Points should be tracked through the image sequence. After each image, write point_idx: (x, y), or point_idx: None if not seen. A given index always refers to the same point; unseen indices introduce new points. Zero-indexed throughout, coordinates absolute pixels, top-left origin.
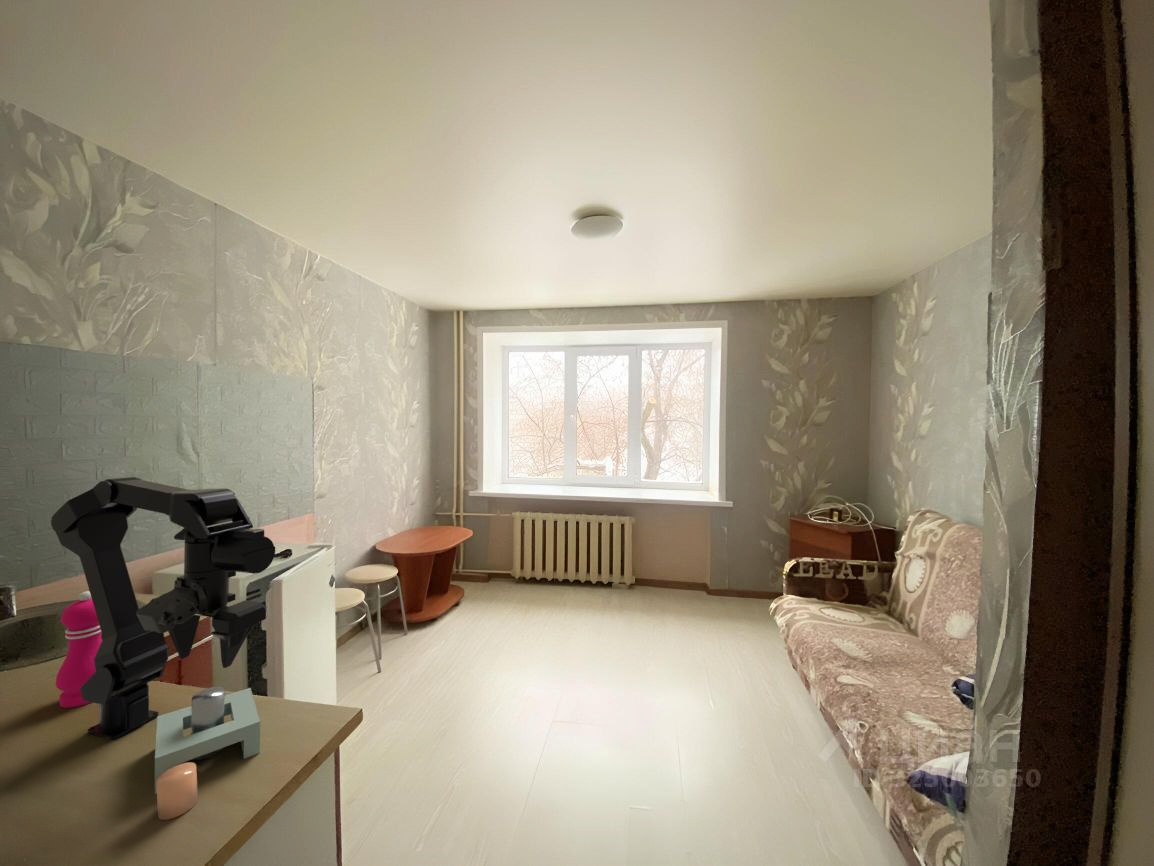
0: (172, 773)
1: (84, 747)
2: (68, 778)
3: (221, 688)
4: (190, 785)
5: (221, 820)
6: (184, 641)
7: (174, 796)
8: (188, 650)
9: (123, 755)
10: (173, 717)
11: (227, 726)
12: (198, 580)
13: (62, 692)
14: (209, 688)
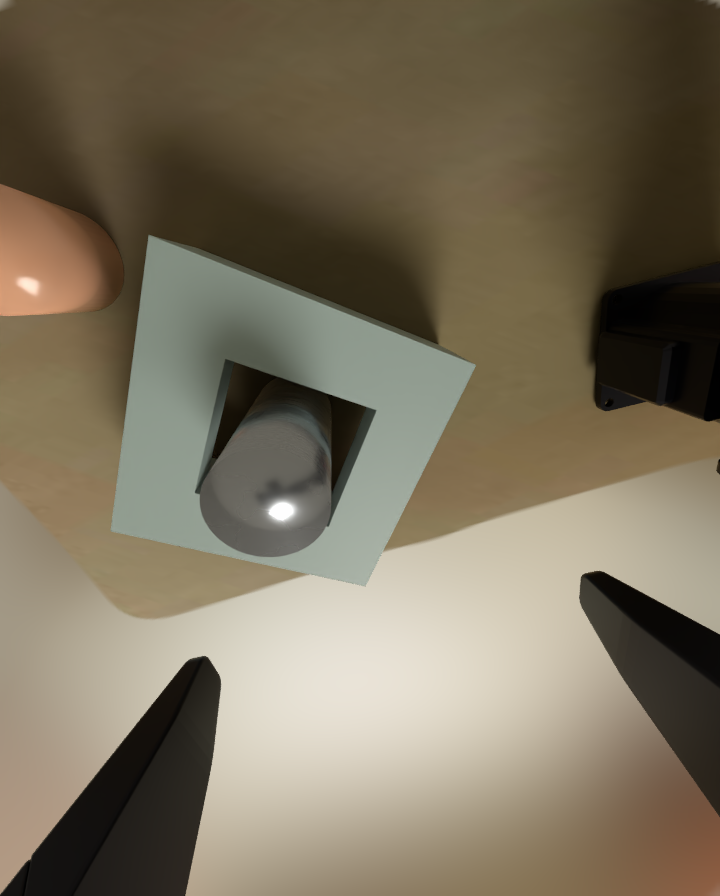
0: (5, 242)
1: (656, 227)
2: (535, 130)
3: (270, 551)
4: None
5: None
6: (695, 713)
7: None
8: (607, 638)
9: (494, 276)
10: (410, 393)
11: (168, 467)
12: None
13: None
14: (318, 526)
